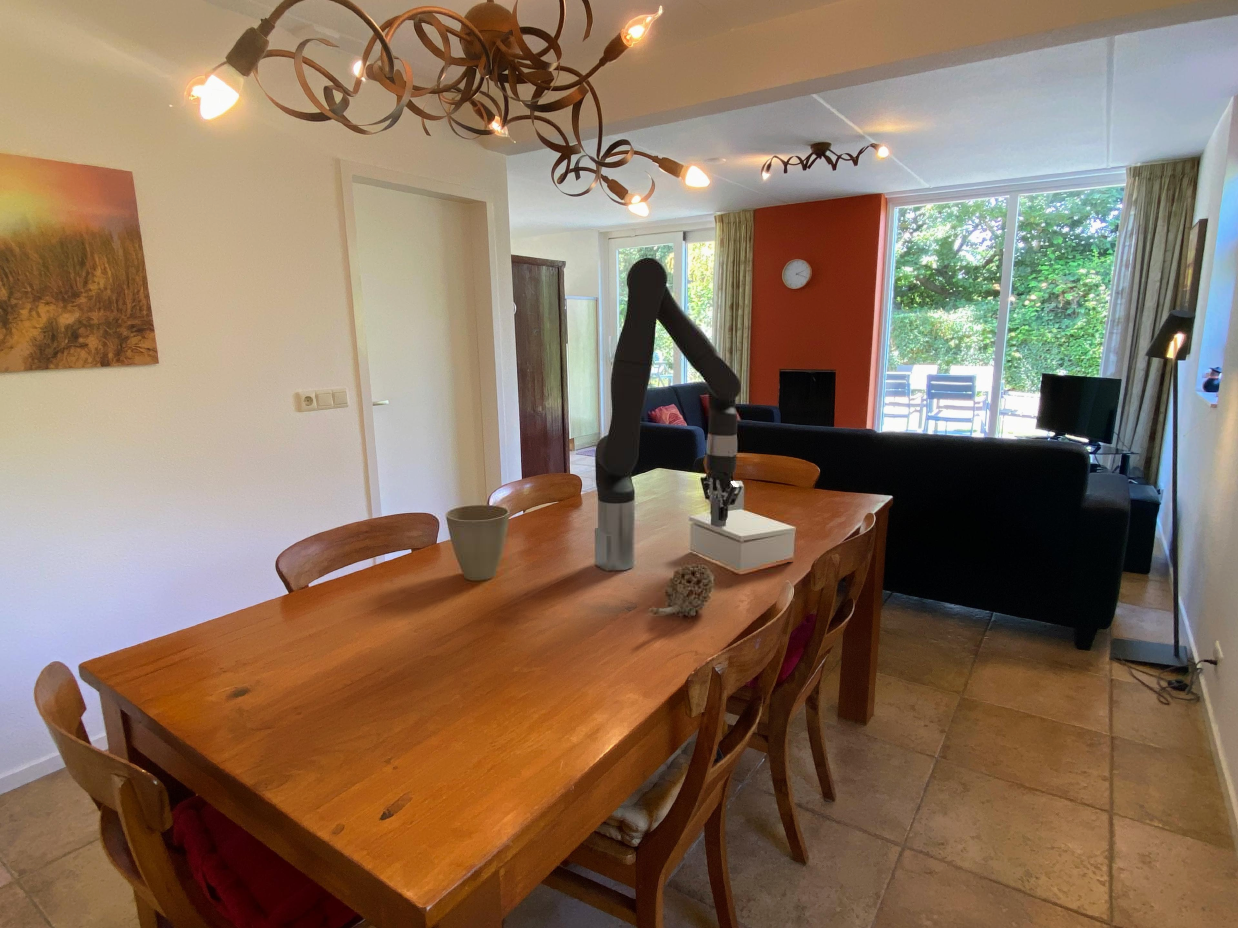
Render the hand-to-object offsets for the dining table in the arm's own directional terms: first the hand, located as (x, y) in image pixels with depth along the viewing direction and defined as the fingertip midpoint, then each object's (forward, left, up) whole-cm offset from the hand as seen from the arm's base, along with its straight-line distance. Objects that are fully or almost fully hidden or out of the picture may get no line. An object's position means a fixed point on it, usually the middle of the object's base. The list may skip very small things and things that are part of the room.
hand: (718, 518), depth 166 cm
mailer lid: (+8, 0, -3) cm, 8 cm away
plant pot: (-55, +23, -12) cm, 61 cm away
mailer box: (+8, 0, -12) cm, 14 cm away
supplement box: (+27, +26, -12) cm, 39 cm away
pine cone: (-28, -22, -12) cm, 38 cm away
